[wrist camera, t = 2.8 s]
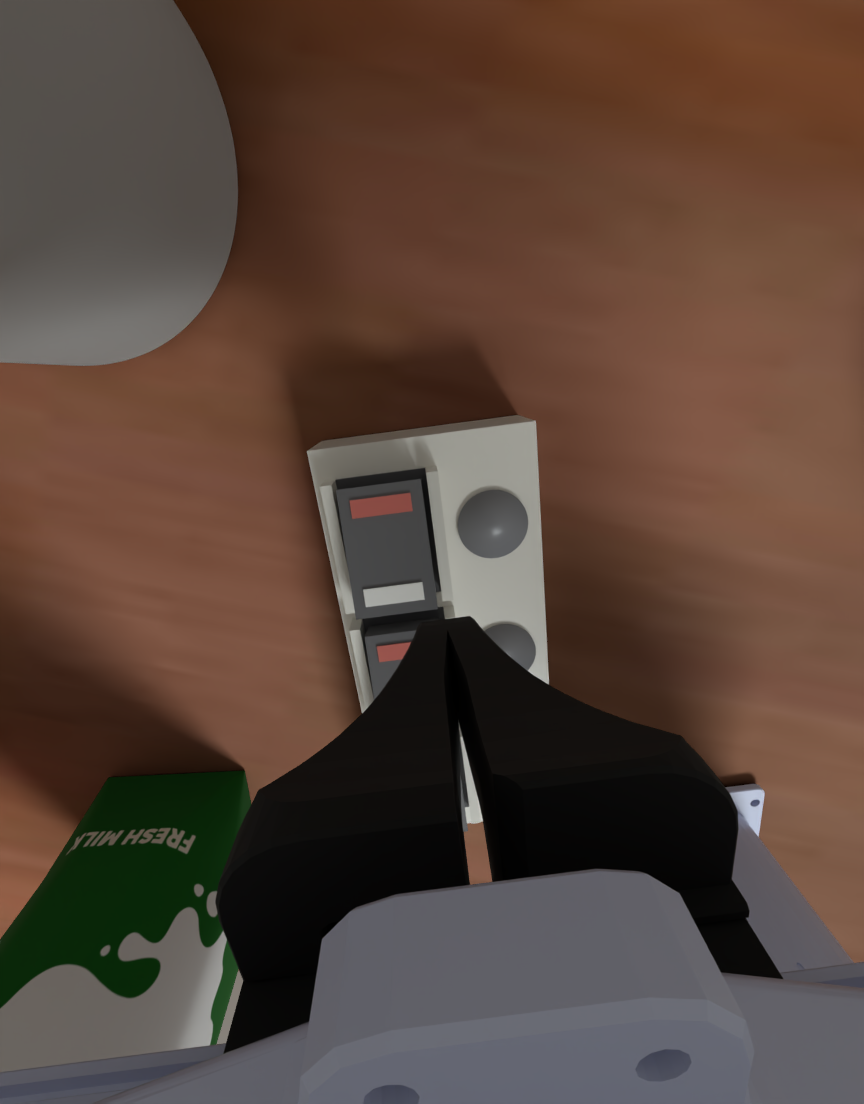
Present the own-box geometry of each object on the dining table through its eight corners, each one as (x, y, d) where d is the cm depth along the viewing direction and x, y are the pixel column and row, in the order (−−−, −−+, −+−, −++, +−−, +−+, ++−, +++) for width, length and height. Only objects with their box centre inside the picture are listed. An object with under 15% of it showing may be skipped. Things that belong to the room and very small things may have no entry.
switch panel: (543, 820, 27) (564, 892, 23) (400, 838, 27) (399, 913, 23) (517, 414, 19) (543, 423, 16) (321, 440, 20) (300, 455, 16)
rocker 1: (437, 599, 18) (437, 609, 16) (361, 609, 18) (355, 620, 16) (421, 479, 17) (420, 478, 16) (343, 489, 17) (335, 489, 16)
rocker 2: (453, 721, 20) (455, 740, 18) (384, 730, 20) (381, 749, 18) (439, 616, 19) (440, 627, 18) (368, 625, 19) (364, 637, 18)
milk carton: (128, 887, 27) (-494, 1997, 9) (85, 760, 24) (-1021, 2050, 6) (283, 878, 28) (11, 1939, 9) (260, 751, 25) (-231, 1957, 6)
